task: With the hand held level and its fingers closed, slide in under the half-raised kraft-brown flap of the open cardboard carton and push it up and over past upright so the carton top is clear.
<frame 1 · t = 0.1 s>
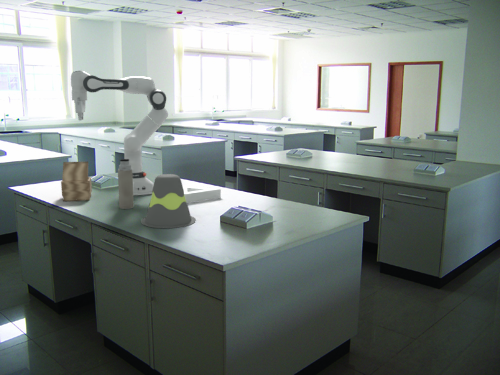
hand: (81, 120, 277), 48 cm above the countertop, tool pointing down, fingers open, 8 cm apart
triangular ruler: (189, 198, 284), on the countertop
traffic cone: (168, 221, 229), on the countertop
thermos bottle: (126, 207, 255), on the countertop
carton flap: (75, 171, 271), point 17 cm above the countertop, hinge at 45.0°
carton: (77, 198, 276), on the countertop
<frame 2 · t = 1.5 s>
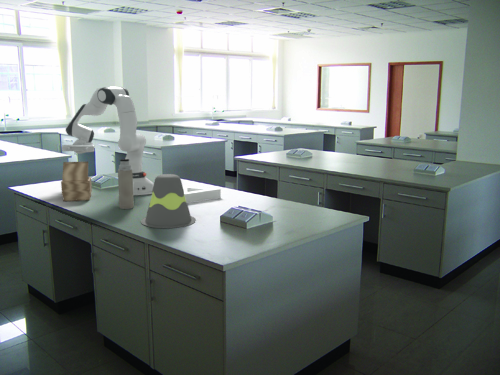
hand: (77, 149, 286), 29 cm above the countertop, tool horizontal, fingers open, 8 cm apart
nothing on the countertop moved.
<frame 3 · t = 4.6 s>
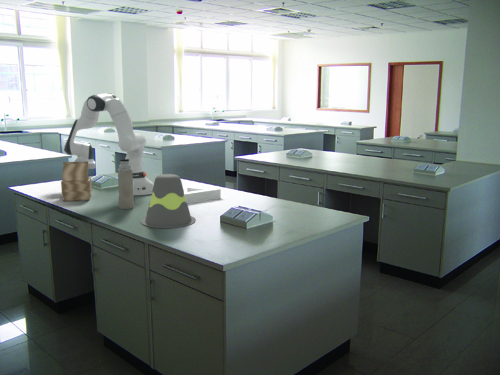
hand: (78, 167, 287), 17 cm above the countertop, tool horizontal, fingers closed
nothing on the countertop moved.
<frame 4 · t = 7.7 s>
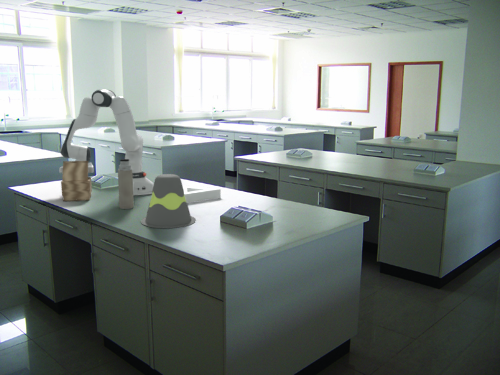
hand: (75, 171, 271), 17 cm above the countertop, tool horizontal, fingers closed, pressing on carton flap
carton flap: (75, 170, 270), point 18 cm above the countertop, hinge at 48.5°, touching gripper
everything else where it was.
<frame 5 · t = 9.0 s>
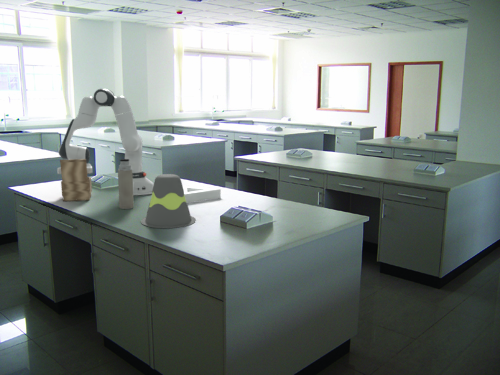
hand: (73, 172, 265), 18 cm above the countertop, tool horizontal, fingers closed, pressing on carton flap
carton flap: (74, 170, 264), point 19 cm above the countertop, hinge at 102.7°, touching gripper
everything else where it was.
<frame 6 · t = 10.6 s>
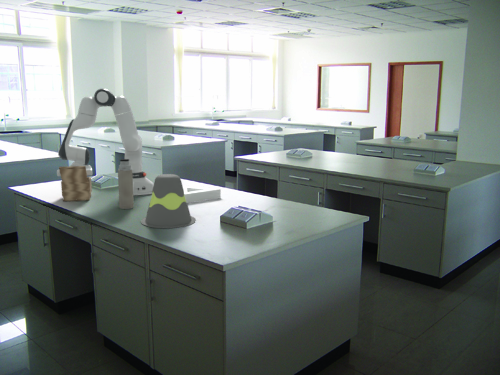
hand: (73, 174, 263), 17 cm above the countertop, tool horizontal, fingers closed, pressing on carton flap
carton flap: (73, 174, 262), point 17 cm above the countertop, hinge at 131.9°, touching carton, gripper
everything else where it was.
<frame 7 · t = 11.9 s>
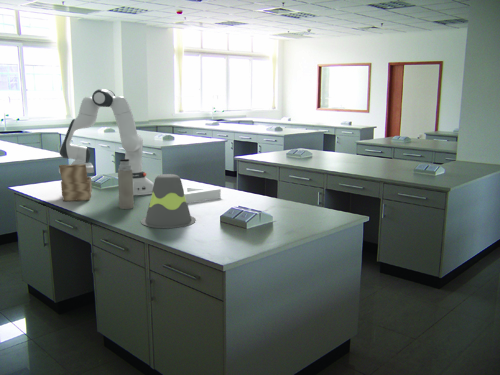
hand: (75, 171, 269), 18 cm above the countertop, tool horizontal, fingers closed
carton flap: (73, 173, 262), point 18 cm above the countertop, hinge at 126.3°, touching carton
everything else where it was.
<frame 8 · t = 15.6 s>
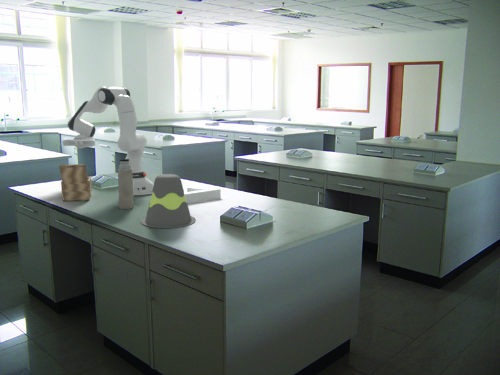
hand: (78, 143, 290), 32 cm above the countertop, tool horizontal, fingers closed
nothing on the countertop moved.
at the end: carton flap at +126° (first picture: +45°); thermos bottle moved 0.2 cm from its start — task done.
